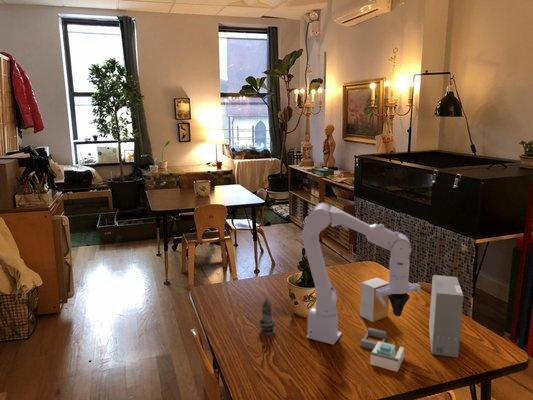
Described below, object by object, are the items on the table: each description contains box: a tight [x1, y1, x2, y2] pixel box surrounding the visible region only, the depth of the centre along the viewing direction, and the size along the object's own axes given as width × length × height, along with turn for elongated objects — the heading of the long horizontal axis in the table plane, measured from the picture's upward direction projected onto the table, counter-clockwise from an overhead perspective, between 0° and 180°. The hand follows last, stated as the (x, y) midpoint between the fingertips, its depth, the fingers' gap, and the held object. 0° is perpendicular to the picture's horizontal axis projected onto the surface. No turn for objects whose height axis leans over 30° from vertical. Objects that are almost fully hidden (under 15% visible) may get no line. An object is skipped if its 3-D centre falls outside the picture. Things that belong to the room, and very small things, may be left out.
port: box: [369, 341, 405, 372], centre depth 126 cm, size 8×8×4 cm
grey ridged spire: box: [257, 298, 277, 336], centre depth 143 cm, size 6×6×12 cm
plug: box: [377, 341, 396, 358], centre depth 125 cm, size 5×4×5 cm
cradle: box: [359, 327, 388, 351], centre depth 136 cm, size 9×6×2 cm
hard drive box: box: [428, 274, 465, 358], centre depth 133 cm, size 16×8×20 cm, turn 163°
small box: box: [359, 277, 390, 323], centre depth 152 cm, size 8×6×13 cm
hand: (397, 314), depth 133 cm, fingers closed
